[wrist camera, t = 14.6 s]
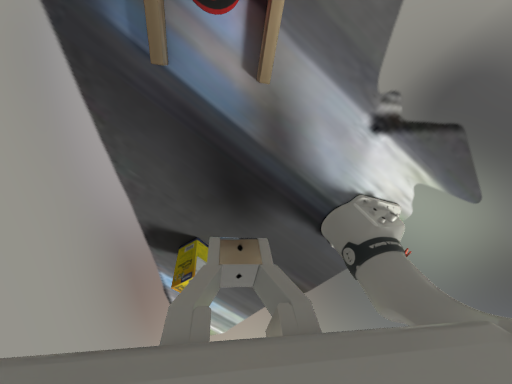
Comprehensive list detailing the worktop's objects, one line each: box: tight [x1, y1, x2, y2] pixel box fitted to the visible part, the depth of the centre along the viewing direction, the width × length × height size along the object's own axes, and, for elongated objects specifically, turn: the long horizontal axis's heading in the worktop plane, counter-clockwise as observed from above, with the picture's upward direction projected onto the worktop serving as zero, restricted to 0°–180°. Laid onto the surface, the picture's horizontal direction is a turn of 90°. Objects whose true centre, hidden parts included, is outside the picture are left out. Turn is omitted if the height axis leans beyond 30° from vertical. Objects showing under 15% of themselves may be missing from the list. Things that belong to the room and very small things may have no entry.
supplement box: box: [171, 238, 209, 293], centre depth 46 cm, size 6×6×11 cm
